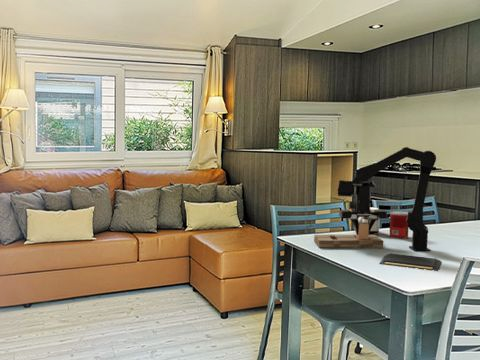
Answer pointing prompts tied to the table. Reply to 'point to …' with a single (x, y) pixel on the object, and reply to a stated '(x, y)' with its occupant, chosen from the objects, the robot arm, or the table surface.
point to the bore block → (347, 241)
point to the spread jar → (375, 226)
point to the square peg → (362, 230)
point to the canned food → (398, 224)
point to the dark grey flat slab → (411, 261)
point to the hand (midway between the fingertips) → (362, 234)
